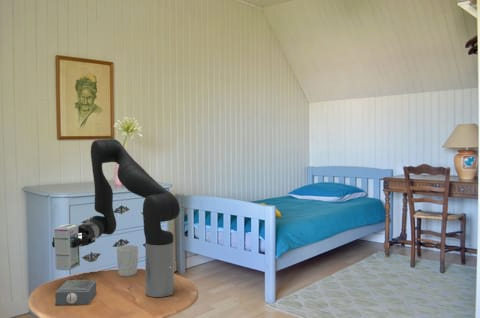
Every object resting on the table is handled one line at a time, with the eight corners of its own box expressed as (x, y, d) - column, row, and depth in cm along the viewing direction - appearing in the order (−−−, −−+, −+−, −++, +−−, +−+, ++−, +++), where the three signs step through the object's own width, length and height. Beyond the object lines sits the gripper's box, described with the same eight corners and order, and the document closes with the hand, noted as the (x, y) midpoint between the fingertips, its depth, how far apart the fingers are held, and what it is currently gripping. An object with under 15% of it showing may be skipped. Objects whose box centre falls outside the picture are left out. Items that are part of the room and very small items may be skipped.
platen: (92, 281, 146) (92, 279, 146) (86, 290, 138) (86, 288, 138) (67, 282, 145) (67, 279, 145) (59, 290, 137) (59, 288, 137)
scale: (96, 292, 147) (96, 281, 147) (88, 305, 137) (88, 292, 137) (65, 293, 146) (65, 281, 146) (54, 305, 136) (54, 292, 136)
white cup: (117, 271, 171) (117, 245, 170) (138, 269, 173) (138, 244, 172) (116, 277, 163) (116, 250, 162) (138, 276, 165) (138, 249, 164)
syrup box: (70, 270, 147) (69, 227, 147) (54, 269, 148) (53, 227, 148) (80, 265, 153) (79, 224, 152) (64, 264, 154) (63, 223, 153)
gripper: (66, 223, 165) (42, 233, 148) (103, 224, 164) (83, 234, 147) (67, 243, 165) (43, 255, 149) (104, 244, 164) (84, 256, 147)
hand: (63, 244), depth 148 cm, fingers closed on syrup box, 6 cm apart
